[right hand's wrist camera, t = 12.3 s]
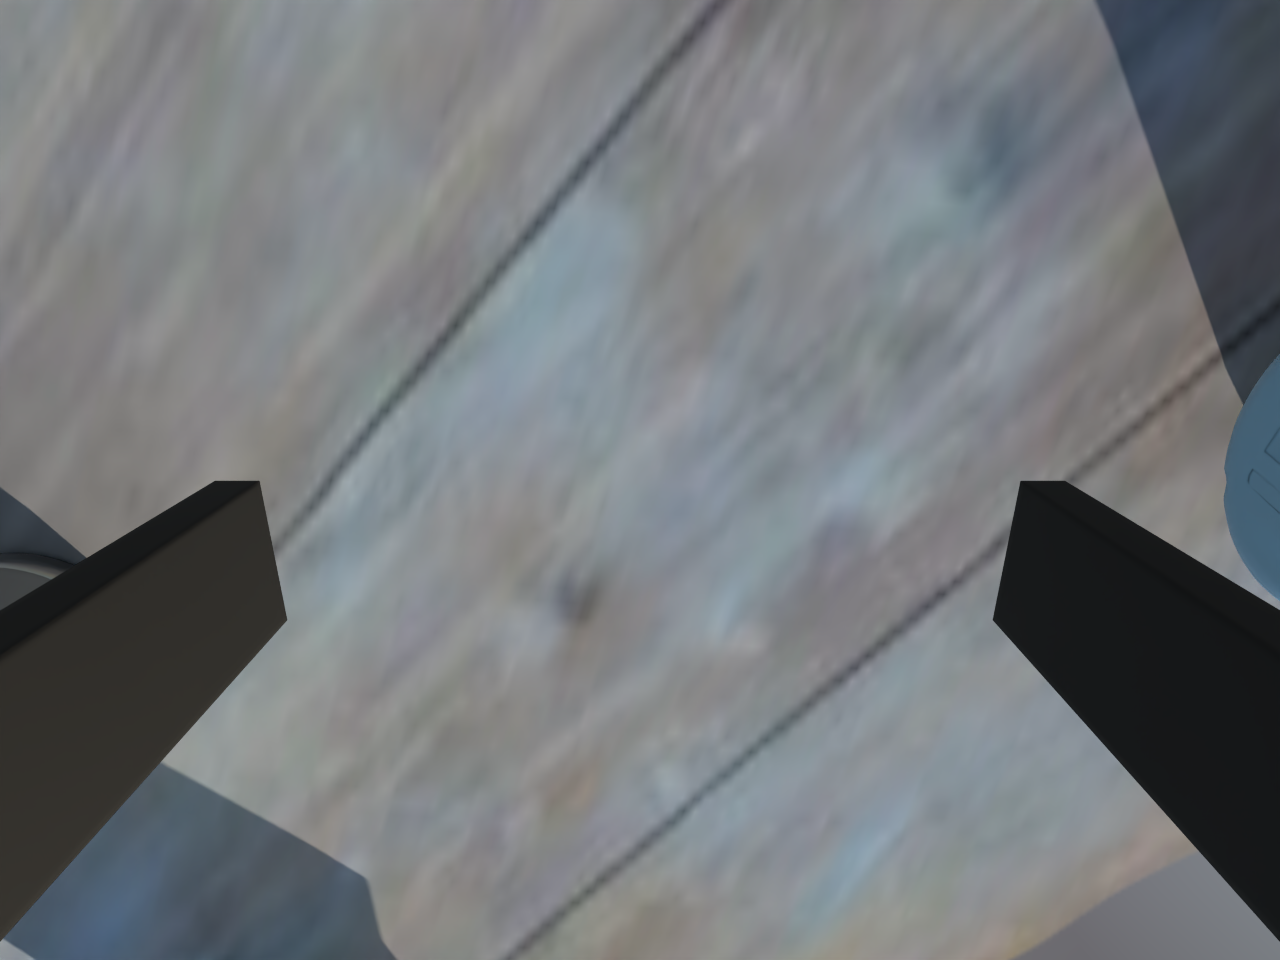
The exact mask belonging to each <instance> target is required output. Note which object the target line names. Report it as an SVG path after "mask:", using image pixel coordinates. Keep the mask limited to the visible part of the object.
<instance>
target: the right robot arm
mask: <svg viewBox="0 0 1280 960" xmlns="http://www.w3.org/2000/svg"><path fill="white" fill-rule="evenodd" d="M286 621H287V616H286V611H285V606H284V601H283V596H282V591H281V586H280V581H279V576H278V571H277V566H276V561H275V556H274V551H273V546H272V541H271V536H270V531H269V526H268V521H267V516H266V511H265V506H264V501H263V496H262V491H261V486H260V481H214V482H212V483H211V484H209V485H207V486H206V487H204V488H202V489H201V490H199V491H197V492H196V493H194V494H192V495H191V496H189V497H187V498H186V499H184V500H182V501H181V502H179V503H178V504H176V505H174V506H173V507H171V508H169V509H168V510H166V511H164V512H163V513H161V514H159V515H158V516H156V517H154V518H153V519H151V520H149V521H148V522H146V523H144V524H143V525H141V526H139V527H138V528H136V529H134V530H133V531H131V532H129V533H128V534H126V535H124V536H123V537H121V538H119V539H118V540H116V541H114V542H113V543H111V544H109V545H108V546H106V547H104V548H103V549H101V550H99V551H98V552H96V553H95V554H93V555H91V556H90V557H88V558H86V559H85V560H83V561H81V562H80V563H78V564H76V565H75V566H74V565H72V564H69V563H66V562H63V561H60V560H57V559H53V558H49V557H45V556H39V555H33V554H23V553H5V554H0V941H1V940H2V939H3V938H4V937H5V936H6V934H7V933H8V932H9V931H10V930H11V929H12V928H13V927H14V926H15V924H16V923H17V922H18V921H19V920H20V919H21V918H22V917H23V915H24V914H25V913H26V912H27V911H28V910H29V909H30V908H31V906H32V905H33V904H34V903H35V902H36V901H37V900H38V899H39V898H40V896H41V895H42V894H43V893H44V892H45V891H46V890H47V889H48V887H49V886H50V885H51V884H52V883H53V882H54V881H55V880H56V878H57V877H58V876H59V875H60V874H61V873H62V872H63V871H64V870H65V868H66V867H67V866H68V865H69V864H70V863H71V862H72V861H73V859H74V858H75V857H76V856H77V855H78V854H79V853H80V852H81V850H82V849H83V848H84V847H85V846H86V845H87V844H88V843H89V842H90V840H91V839H92V838H93V837H94V836H95V835H96V834H97V833H98V831H99V830H100V829H101V828H102V827H103V826H104V825H105V824H106V822H107V821H108V820H109V819H110V818H111V817H112V816H113V815H114V814H115V812H116V811H117V810H118V809H119V808H120V807H121V806H122V805H123V803H124V802H125V801H126V800H127V799H128V798H129V797H130V796H131V794H132V793H133V792H134V791H135V790H136V789H137V788H138V787H139V785H140V784H141V783H142V782H143V781H144V780H145V779H146V778H147V777H148V775H149V774H150V773H151V772H152V771H153V770H154V769H155V768H156V766H157V765H158V764H159V763H160V762H161V761H162V760H163V759H164V757H165V756H166V755H167V754H168V753H169V752H170V751H171V750H172V749H173V747H174V746H175V745H176V744H177V743H178V742H179V741H180V740H181V738H182V737H183V736H184V735H185V734H186V733H187V732H188V731H189V729H190V728H191V727H192V726H193V725H194V724H195V723H196V722H197V721H198V719H199V718H200V717H201V716H202V715H203V714H204V713H205V712H206V710H207V709H208V708H209V707H210V706H211V705H212V704H213V703H214V701H215V700H216V699H217V698H218V697H219V696H220V695H221V694H222V693H223V691H224V690H225V689H226V688H227V687H228V686H229V685H230V684H231V682H232V681H233V680H234V679H235V678H236V677H237V676H238V675H239V673H240V672H241V671H242V670H243V669H244V668H245V667H246V666H247V665H248V663H249V662H250V661H251V660H252V659H253V658H254V657H255V656H256V654H257V653H258V652H259V651H260V650H261V649H262V648H263V647H264V645H265V644H266V643H267V642H268V641H269V640H270V639H271V638H272V637H273V635H274V634H275V633H276V632H277V631H278V630H279V629H280V628H281V626H282V625H283V624H284V623H285V622H286ZM993 621H994V622H995V623H996V624H997V625H998V626H999V628H1000V629H1001V630H1002V631H1003V632H1004V633H1005V634H1006V635H1007V637H1008V638H1009V639H1010V640H1011V641H1012V642H1013V643H1014V644H1015V645H1016V647H1017V648H1018V649H1019V650H1020V651H1021V652H1022V653H1023V654H1024V656H1025V657H1026V658H1027V659H1028V660H1029V661H1030V662H1031V663H1032V665H1033V666H1034V667H1035V668H1036V669H1037V670H1038V671H1039V672H1040V673H1041V675H1042V676H1043V677H1044V678H1045V679H1046V680H1047V681H1048V682H1049V684H1050V685H1051V686H1052V687H1053V688H1054V689H1055V690H1056V691H1057V693H1058V694H1059V695H1060V696H1061V697H1062V698H1063V699H1064V700H1065V701H1066V703H1067V704H1068V705H1069V706H1070V707H1071V708H1072V709H1073V710H1074V712H1075V713H1076V714H1077V715H1078V716H1079V717H1080V718H1081V719H1082V721H1083V722H1084V723H1085V724H1086V725H1087V726H1088V727H1089V728H1090V729H1091V731H1092V732H1093V733H1094V734H1095V735H1096V736H1097V737H1098V738H1099V740H1100V741H1101V742H1102V743H1103V744H1104V745H1105V746H1106V747H1107V749H1108V750H1109V751H1110V752H1111V753H1112V754H1113V755H1114V756H1115V757H1116V759H1117V760H1118V761H1119V762H1120V763H1121V764H1122V765H1123V766H1124V768H1125V769H1126V770H1127V771H1128V772H1129V773H1130V774H1131V775H1132V777H1133V778H1134V779H1135V780H1136V781H1137V782H1138V783H1139V784H1140V785H1141V787H1142V788H1143V789H1144V790H1145V791H1146V792H1147V793H1148V794H1149V796H1150V797H1151V798H1152V799H1153V800H1154V801H1155V802H1156V803H1157V805H1158V806H1159V807H1160V808H1161V809H1162V810H1163V811H1164V812H1165V814H1166V815H1167V816H1168V817H1169V818H1170V819H1171V820H1172V821H1173V822H1174V824H1175V825H1176V826H1177V827H1178V828H1179V829H1180V830H1181V831H1182V833H1183V834H1184V835H1185V836H1186V837H1187V838H1188V839H1189V840H1190V842H1191V843H1192V844H1193V845H1194V846H1195V847H1196V848H1197V849H1198V850H1199V852H1200V853H1201V854H1202V855H1203V856H1204V857H1205V858H1206V859H1207V860H1208V862H1209V863H1210V864H1211V865H1212V866H1213V867H1214V868H1215V870H1216V871H1217V872H1218V873H1219V874H1220V875H1221V876H1222V877H1223V878H1224V880H1225V881H1226V882H1227V883H1228V884H1229V885H1230V886H1231V887H1232V889H1233V890H1234V891H1235V892H1236V893H1237V894H1238V895H1239V896H1240V898H1241V899H1242V900H1243V901H1244V902H1245V903H1246V904H1247V905H1248V906H1249V908H1250V909H1251V910H1252V911H1253V912H1254V913H1255V914H1256V915H1257V917H1258V918H1259V919H1260V920H1261V921H1262V922H1263V923H1264V924H1265V925H1266V927H1267V928H1268V929H1269V930H1270V931H1271V932H1272V933H1273V934H1274V936H1275V937H1276V938H1277V939H1278V940H1279V941H1280V610H1278V609H1277V608H1275V607H1273V606H1272V605H1270V604H1268V603H1267V602H1265V601H1264V600H1262V599H1260V598H1259V597H1257V596H1255V595H1254V594H1252V593H1250V592H1249V591H1247V590H1245V589H1244V588H1242V587H1240V586H1239V585H1237V584H1235V583H1234V582H1232V581H1230V580H1229V579H1227V578H1225V577H1224V576H1222V575H1220V574H1219V573H1217V572H1215V571H1214V570H1212V569H1210V568H1209V567H1207V566H1205V565H1204V564H1202V563H1200V562H1199V561H1197V560H1195V559H1194V558H1192V557H1190V556H1189V555H1187V554H1185V553H1184V552H1182V551H1181V550H1179V549H1177V548H1176V547H1174V546H1172V545H1171V544H1169V543H1167V542H1166V541H1164V540H1162V539H1161V538H1159V537H1157V536H1156V535H1154V534H1152V533H1151V532H1149V531H1147V530H1146V529H1144V528H1142V527H1141V526H1139V525H1137V524H1136V523H1134V522H1132V521H1131V520H1129V519H1127V518H1126V517H1124V516H1122V515H1121V514H1119V513H1117V512H1116V511H1114V510H1112V509H1111V508H1109V507H1107V506H1106V505H1104V504H1102V503H1101V502H1099V501H1098V500H1096V499H1094V498H1093V497H1091V496H1089V495H1088V494H1086V493H1084V492H1083V491H1081V490H1079V489H1078V488H1076V487H1074V486H1073V485H1071V484H1069V483H1068V482H1066V481H1020V486H1019V491H1018V496H1017V501H1016V506H1015V511H1014V516H1013V521H1012V526H1011V531H1010V536H1009V541H1008V546H1007V551H1006V556H1005V561H1004V566H1003V571H1002V576H1001V581H1000V586H999V591H998V596H997V601H996V606H995V611H994V616H993Z"/></svg>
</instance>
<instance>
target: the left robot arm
mask: <svg viewBox="0 0 1280 960" xmlns="http://www.w3.org/2000/svg"><path fill="white" fill-rule="evenodd" d="M1224 469H1225V474H1226V480H1227V484H1226V489H1225V494H1224V507H1225V513H1226V518H1227V523H1228V527H1229V531H1230V534H1231V537H1232V540H1233V542H1234V545H1235V547H1236V549H1237V551H1238V553H1239V555H1240V557H1241V559H1242V561H1243V562H1244V564H1245V565H1246V567H1247V568H1248V570H1249V571H1250V572H1251V574H1252V575H1253V576H1254V578H1255V579H1256V580H1257V581H1258V582H1259V583H1260V584H1261V586H1263V587H1264V588H1265V589H1266V590H1267V591H1268V592H1269V593H1270V594H1271V595H1272V596H1274V597H1275V598H1276V599H1278V600H1279V601H1280V354H1279V355H1278V356H1277V357H1276V358H1275V359H1274V361H1273V362H1272V363H1271V364H1270V365H1269V367H1268V368H1267V369H1266V370H1265V372H1264V373H1263V374H1262V376H1261V377H1260V379H1259V380H1258V381H1257V383H1256V385H1255V386H1254V388H1253V389H1252V391H1251V393H1250V394H1249V396H1248V398H1247V400H1246V401H1245V403H1244V405H1243V407H1242V409H1241V412H1240V414H1239V416H1238V418H1237V421H1236V423H1235V426H1234V429H1233V432H1232V436H1231V439H1230V443H1229V446H1228V450H1227V455H1226V460H1225V467H1224Z"/></svg>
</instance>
